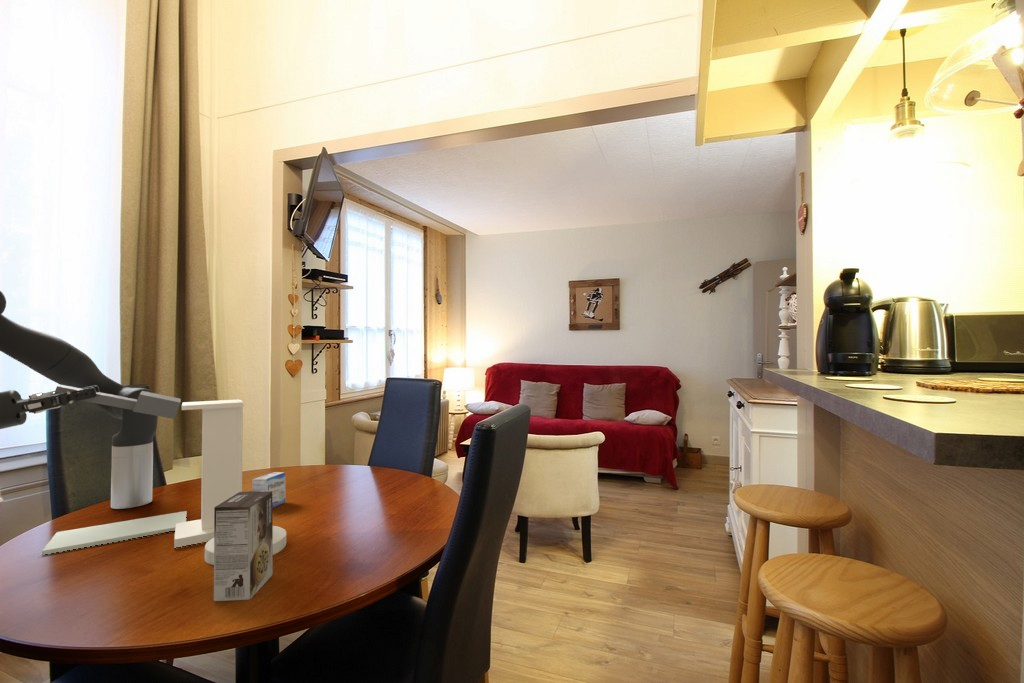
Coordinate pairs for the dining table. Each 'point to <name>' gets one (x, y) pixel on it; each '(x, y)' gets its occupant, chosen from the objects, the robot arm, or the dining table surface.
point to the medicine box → (272, 486)
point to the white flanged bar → (215, 465)
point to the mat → (113, 532)
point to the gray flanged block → (134, 402)
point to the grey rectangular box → (242, 545)
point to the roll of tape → (278, 544)
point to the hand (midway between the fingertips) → (96, 390)
